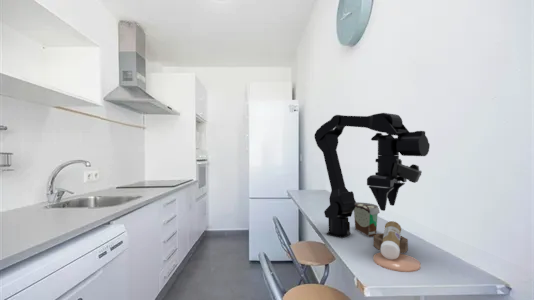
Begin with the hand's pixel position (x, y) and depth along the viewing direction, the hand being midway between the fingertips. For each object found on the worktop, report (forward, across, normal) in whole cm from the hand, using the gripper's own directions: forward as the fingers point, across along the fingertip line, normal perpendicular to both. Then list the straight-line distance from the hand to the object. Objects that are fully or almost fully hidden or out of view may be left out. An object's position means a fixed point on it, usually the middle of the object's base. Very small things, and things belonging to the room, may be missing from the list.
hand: (387, 207), depth 76 cm
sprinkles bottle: (+6, +3, -1) cm, 7 cm away
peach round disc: (+12, -8, -4) cm, 16 cm away
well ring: (+13, +3, 0) cm, 13 cm away
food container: (+13, +14, +10) cm, 22 cm away
